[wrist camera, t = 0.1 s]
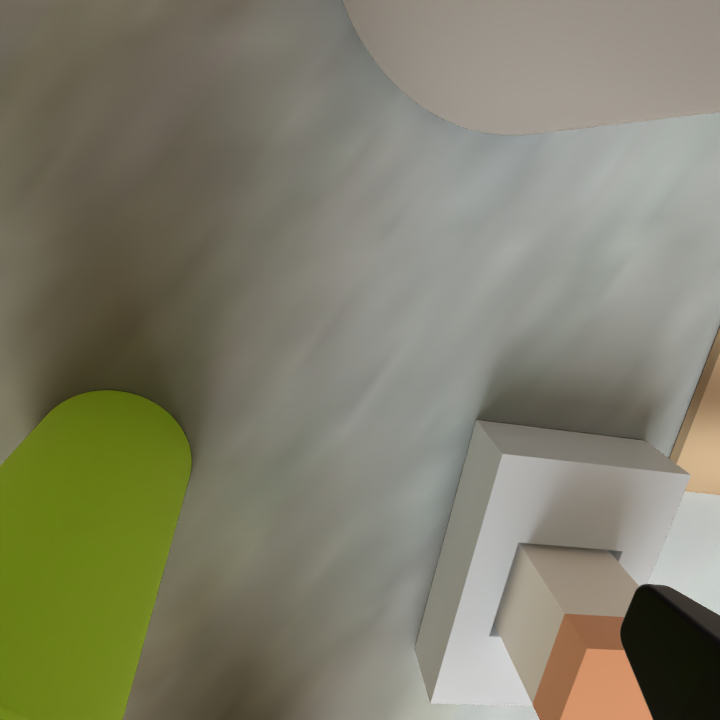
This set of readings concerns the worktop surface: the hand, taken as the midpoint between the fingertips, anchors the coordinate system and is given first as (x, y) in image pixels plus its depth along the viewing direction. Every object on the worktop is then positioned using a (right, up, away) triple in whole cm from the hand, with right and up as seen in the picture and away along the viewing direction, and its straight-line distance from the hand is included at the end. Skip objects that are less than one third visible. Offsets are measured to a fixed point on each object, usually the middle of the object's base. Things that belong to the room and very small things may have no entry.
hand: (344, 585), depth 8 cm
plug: (+8, -6, +19) cm, 21 cm away
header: (+8, -6, +19) cm, 21 cm away
